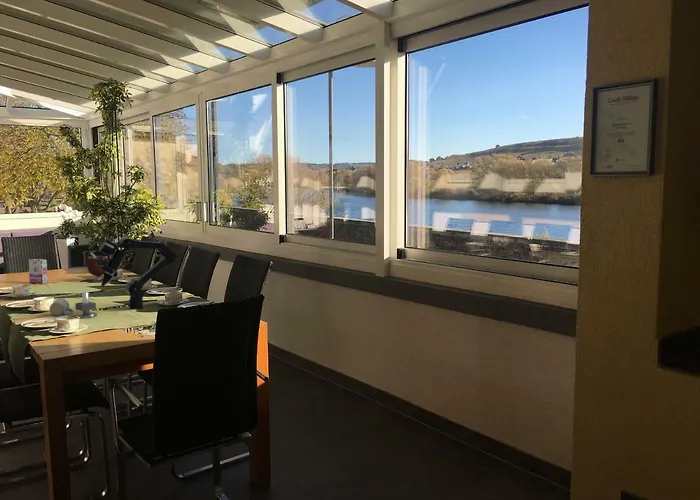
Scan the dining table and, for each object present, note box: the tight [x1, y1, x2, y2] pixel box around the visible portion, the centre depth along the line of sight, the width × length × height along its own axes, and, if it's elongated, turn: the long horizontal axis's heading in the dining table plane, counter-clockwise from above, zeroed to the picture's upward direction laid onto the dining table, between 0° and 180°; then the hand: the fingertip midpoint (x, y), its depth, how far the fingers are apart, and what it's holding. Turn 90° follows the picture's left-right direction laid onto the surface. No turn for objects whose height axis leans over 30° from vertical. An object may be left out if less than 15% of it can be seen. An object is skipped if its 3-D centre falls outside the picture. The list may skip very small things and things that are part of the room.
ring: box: [74, 301, 97, 312], centre depth 301 cm, size 7×7×3 cm
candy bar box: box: [28, 258, 49, 285], centre depth 405 cm, size 11×5×16 cm, turn 73°
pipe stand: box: [74, 291, 98, 319], centre depth 301 cm, size 10×10×12 cm
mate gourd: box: [86, 252, 109, 280], centre depth 415 cm, size 16×14×20 cm
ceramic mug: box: [49, 298, 75, 317], centre depth 305 cm, size 11×8×8 cm
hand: (102, 286), depth 311 cm, fingers closed
